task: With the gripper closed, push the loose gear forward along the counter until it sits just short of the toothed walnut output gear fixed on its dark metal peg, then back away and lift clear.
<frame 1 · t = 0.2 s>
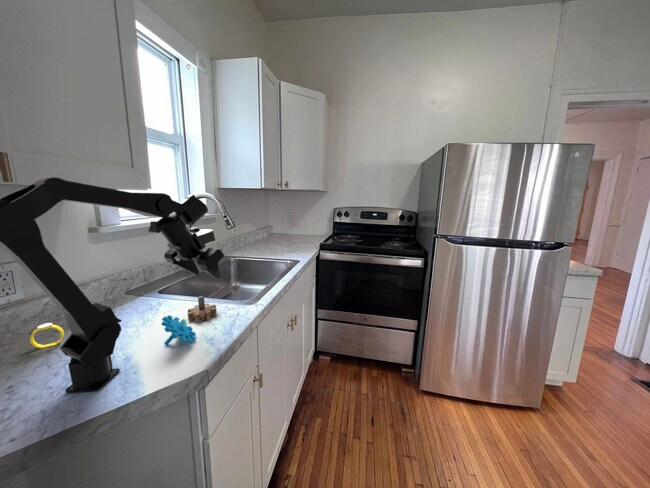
hand: (208, 275, 80), 15 cm above the worktop, tool tilted 30°, fingers open, 9 cm apart
gear: (181, 341, 71), on the worktop
output gear: (202, 316, 86), on the worktop
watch: (49, 346, 69), on the worktop
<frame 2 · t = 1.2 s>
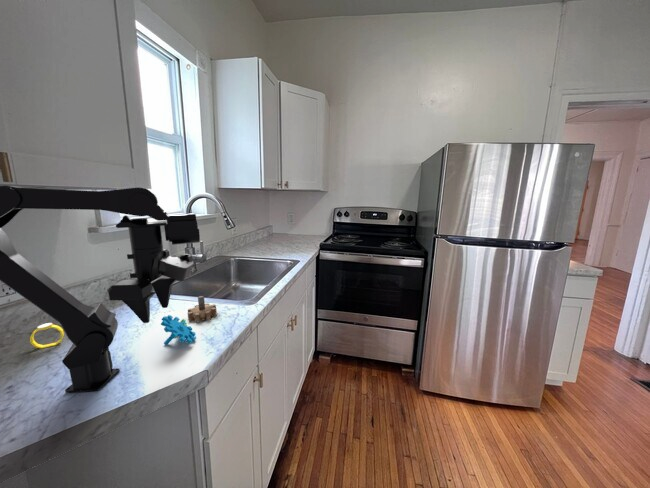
hand: (156, 314, 60), 12 cm above the worktop, tool pointing down, fingers open, 7 cm apart
nothing on the worktop moved.
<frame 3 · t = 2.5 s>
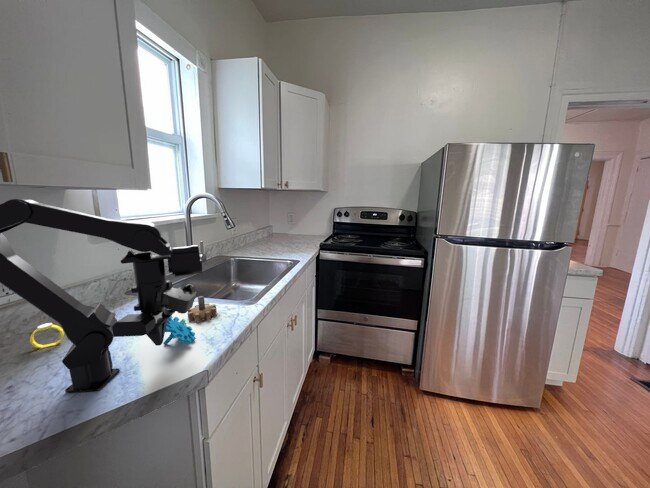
hand: (159, 344, 61), 5 cm above the worktop, tool pointing down, fingers closed
nothing on the worktop moved.
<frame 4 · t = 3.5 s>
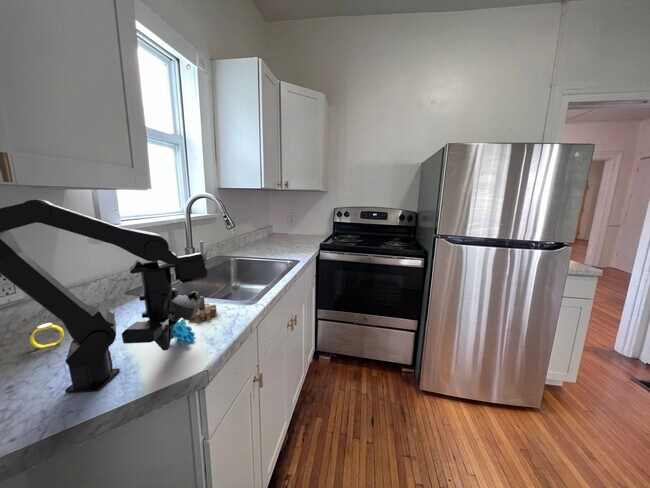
hand: (166, 349, 64), 2 cm above the worktop, tool pointing down, fingers closed
gear: (180, 341, 71), on the worktop, touching gripper
everything else where it was.
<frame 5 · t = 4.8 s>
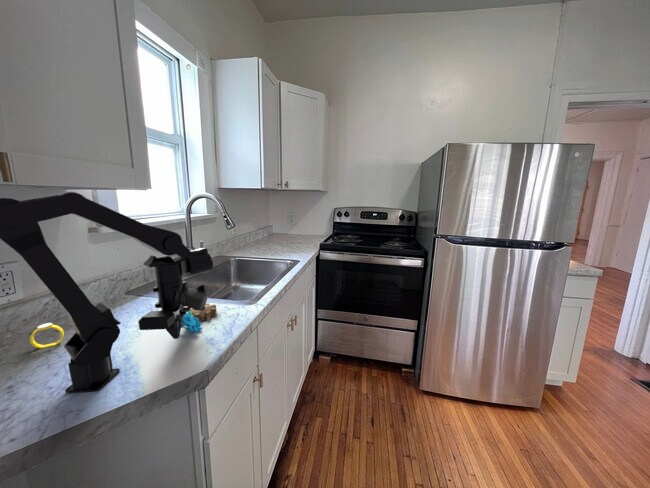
hand: (176, 338, 69), 2 cm above the worktop, tool pointing down, fingers closed
gear: (187, 331, 76), on the worktop, touching gripper
everything else where it was.
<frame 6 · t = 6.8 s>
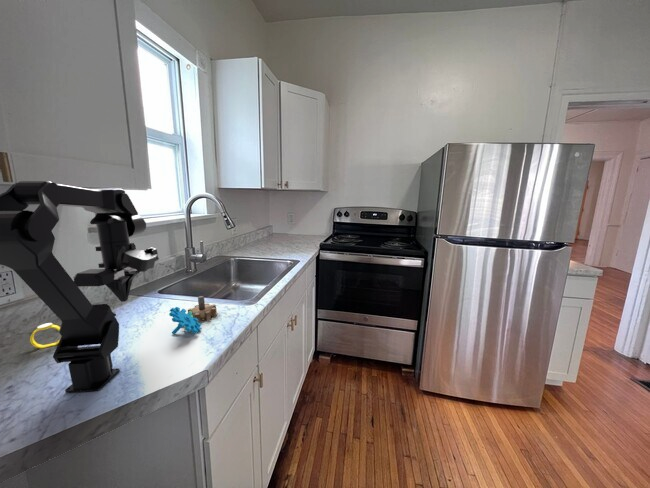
hand: (124, 301, 67), 12 cm above the worktop, tool pointing down, fingers closed
gear: (187, 331, 77), on the worktop
everything else where it was.
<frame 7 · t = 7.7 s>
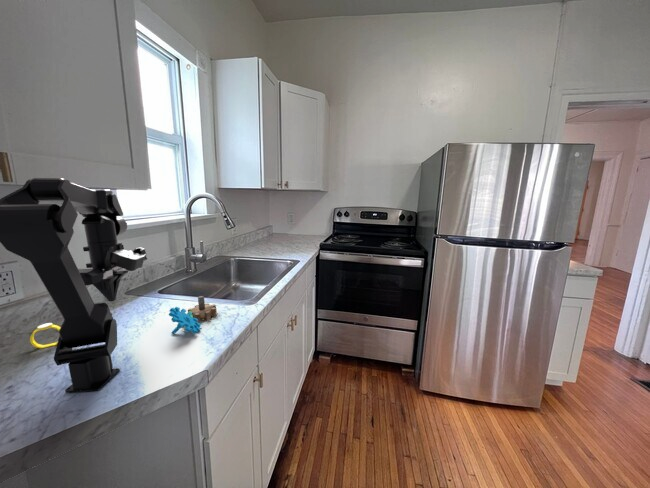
hand: (112, 300, 68), 12 cm above the worktop, tool pointing down, fingers closed
nothing on the worktop moved.
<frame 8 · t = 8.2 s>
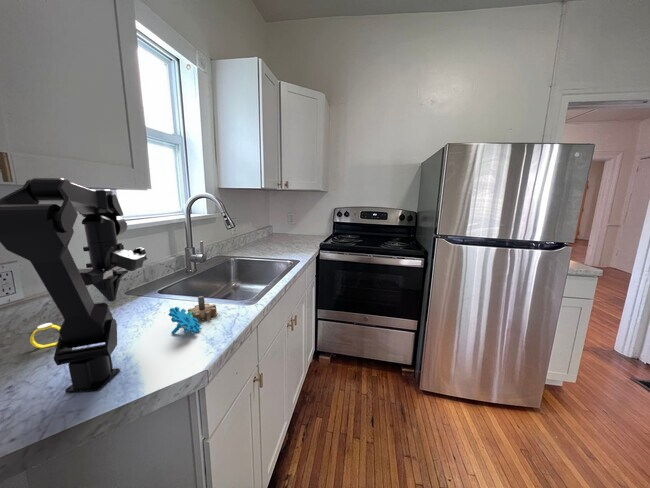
hand: (112, 300, 68), 12 cm above the worktop, tool pointing down, fingers closed
nothing on the worktop moved.
at the end: gear inside the target area on the worktop beside the output gear (1.1 cm from its centre), on the worktop; gear moved 5.4 cm from its start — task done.
